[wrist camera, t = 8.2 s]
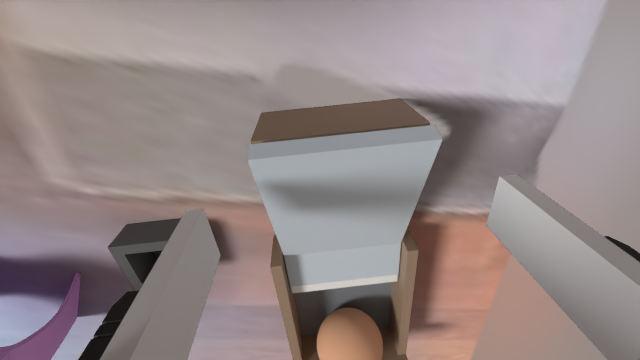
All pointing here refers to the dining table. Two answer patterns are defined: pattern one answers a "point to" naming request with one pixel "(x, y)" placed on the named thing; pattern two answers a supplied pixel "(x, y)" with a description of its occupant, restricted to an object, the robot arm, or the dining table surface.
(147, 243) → the square sleeve
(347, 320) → the ball
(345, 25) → the dining table surface
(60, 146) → the dining table surface
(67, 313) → the toy chair
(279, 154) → the ramp with walled tray
